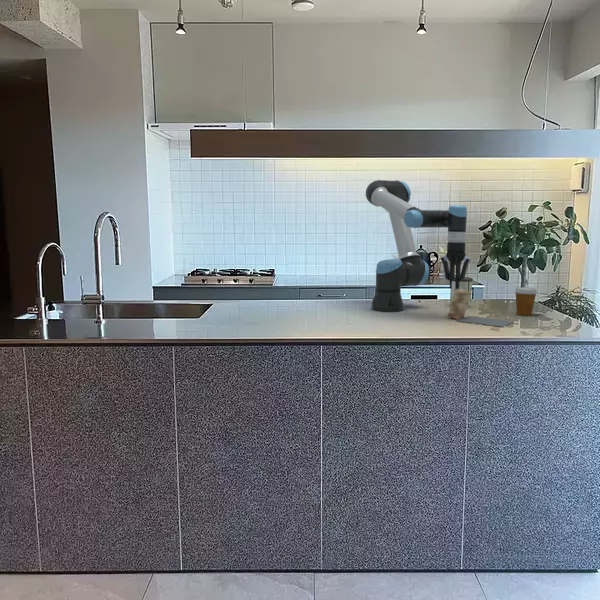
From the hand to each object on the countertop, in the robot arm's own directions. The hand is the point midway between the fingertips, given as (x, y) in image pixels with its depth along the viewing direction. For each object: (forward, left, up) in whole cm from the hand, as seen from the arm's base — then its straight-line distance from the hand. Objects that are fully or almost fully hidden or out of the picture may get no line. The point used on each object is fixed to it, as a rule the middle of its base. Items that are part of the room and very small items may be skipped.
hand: (454, 296), depth 245 cm
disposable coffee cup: (+22, +29, -10) cm, 38 cm away
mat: (+14, 0, -10) cm, 17 cm away
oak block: (+1, 0, -9) cm, 9 cm away
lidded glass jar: (-9, +31, -10) cm, 34 cm away
